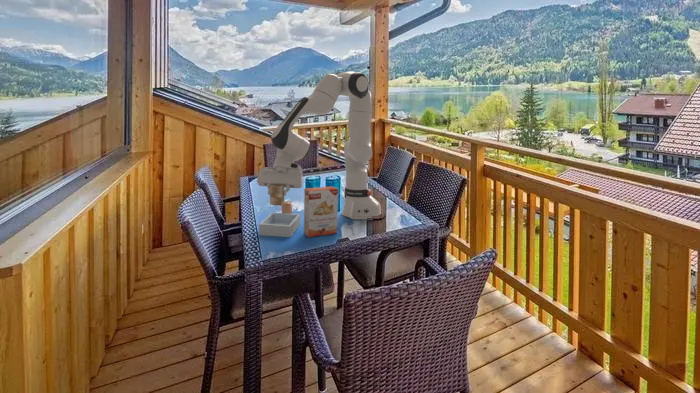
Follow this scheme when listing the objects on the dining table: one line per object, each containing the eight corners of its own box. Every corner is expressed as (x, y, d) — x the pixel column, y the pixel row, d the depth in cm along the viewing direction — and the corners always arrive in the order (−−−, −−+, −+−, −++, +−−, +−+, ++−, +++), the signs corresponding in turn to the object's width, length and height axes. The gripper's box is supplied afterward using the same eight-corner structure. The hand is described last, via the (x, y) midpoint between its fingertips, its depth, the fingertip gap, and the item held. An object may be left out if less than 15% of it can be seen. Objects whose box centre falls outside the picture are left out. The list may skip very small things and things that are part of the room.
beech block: (284, 202, 179) (284, 185, 177) (281, 205, 174) (281, 187, 172) (273, 201, 180) (273, 184, 178) (270, 204, 175) (269, 186, 173)
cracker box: (308, 238, 174) (308, 191, 169) (303, 233, 180) (303, 188, 174) (337, 233, 181) (338, 188, 176) (332, 229, 186) (332, 185, 181)
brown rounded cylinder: (293, 219, 200) (293, 201, 198) (290, 222, 195) (290, 204, 193) (283, 218, 201) (283, 201, 198) (280, 221, 196) (280, 203, 194)
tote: (300, 224, 192) (300, 214, 191) (290, 237, 175) (290, 226, 174) (272, 222, 194) (271, 212, 192) (259, 235, 176) (258, 224, 175)
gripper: (258, 163, 181) (251, 189, 174) (303, 165, 179) (298, 192, 172) (262, 171, 186) (255, 196, 179) (305, 173, 184) (300, 199, 177)
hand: (276, 194), depth 175 cm, fingers closed on beech block, 5 cm apart
